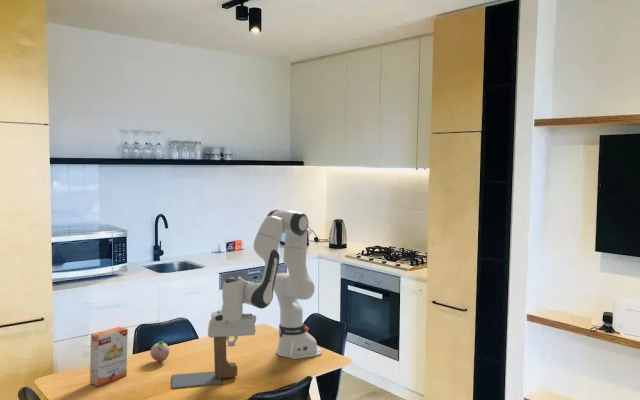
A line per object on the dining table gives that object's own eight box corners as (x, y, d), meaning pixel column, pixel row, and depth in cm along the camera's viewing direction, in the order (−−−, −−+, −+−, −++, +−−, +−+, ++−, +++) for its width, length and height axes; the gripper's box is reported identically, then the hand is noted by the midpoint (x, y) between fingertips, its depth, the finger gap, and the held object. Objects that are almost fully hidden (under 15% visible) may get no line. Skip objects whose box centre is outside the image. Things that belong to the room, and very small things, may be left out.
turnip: (149, 359, 237) (149, 338, 236) (167, 357, 240) (167, 336, 239) (151, 367, 228) (151, 345, 227) (170, 364, 231) (170, 343, 231)
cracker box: (98, 387, 205) (98, 336, 204) (89, 383, 209) (89, 334, 207) (127, 376, 217) (128, 328, 216) (118, 372, 220) (119, 325, 219)
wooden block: (235, 372, 222) (234, 332, 221) (237, 376, 218) (236, 335, 217) (214, 375, 219) (213, 335, 218) (216, 379, 215) (215, 338, 214)
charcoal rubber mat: (218, 372, 224) (219, 371, 224) (221, 384, 212) (221, 383, 212) (172, 376, 219) (172, 374, 219) (171, 388, 206) (172, 387, 206)
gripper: (255, 311, 224) (254, 342, 224) (207, 313, 218) (207, 345, 218) (257, 315, 217) (256, 346, 218) (208, 317, 212) (208, 349, 212)
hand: (231, 346), depth 218 cm, fingers closed
